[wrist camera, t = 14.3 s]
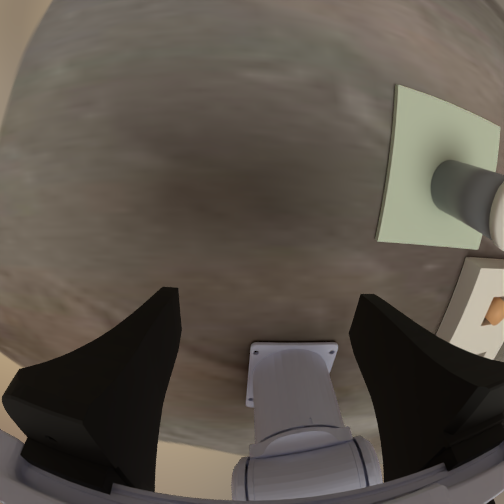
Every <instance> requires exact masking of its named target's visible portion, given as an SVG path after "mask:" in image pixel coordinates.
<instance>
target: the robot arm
mask: <svg viewBox="0 0 504 504" xmlns="http://www.w3.org/2000/svg"><path fill="white" fill-rule="evenodd" d="M181 331H182V327H181V317H180V305H179V293H178V288H172V287H162V288H161V289H160V290H159V291H157V292H156V293H155V294H154V295H153V296H152V297H151V298H150V299H148V300H147V301H146V302H145V303H144V304H143V305H142V306H141V307H139V308H138V309H137V310H136V311H135V312H134V313H132V314H131V315H130V316H128V317H127V318H126V319H125V320H123V321H122V322H121V323H119V324H118V325H117V326H115V327H114V328H113V329H111V330H110V331H108V332H107V333H105V334H104V335H102V336H100V337H99V338H97V339H95V340H94V341H92V342H90V343H88V344H86V345H84V346H82V347H80V348H78V349H76V350H74V351H72V352H70V353H68V354H65V355H63V356H61V357H58V358H55V359H53V360H50V361H47V362H44V363H40V364H37V365H33V366H30V367H26V368H22V369H19V370H18V372H17V373H16V375H15V377H14V378H13V380H12V381H11V383H10V385H9V386H8V388H7V390H6V391H5V393H4V395H3V396H2V403H3V406H4V408H5V410H6V411H7V413H8V414H9V416H10V417H11V418H12V419H13V421H14V422H15V423H16V424H17V426H18V427H19V428H20V429H21V430H22V431H23V433H24V434H25V435H26V436H27V437H28V438H27V440H26V442H25V444H24V443H23V442H21V441H20V440H19V439H17V438H15V437H13V436H12V435H10V434H8V433H6V432H4V431H2V430H1V429H0V502H1V503H3V504H486V503H488V502H489V501H491V500H492V499H493V498H495V497H496V496H498V495H499V494H500V493H502V492H503V491H504V427H503V425H502V424H501V422H503V421H504V416H503V414H502V411H503V410H504V362H500V361H495V360H491V359H488V358H485V357H482V356H479V355H476V354H473V353H471V352H468V351H466V350H464V349H461V348H459V347H457V346H455V345H453V344H450V343H449V342H447V341H445V340H443V339H441V338H439V337H437V336H436V335H434V334H432V333H431V332H429V331H428V330H426V329H425V328H423V327H421V326H420V325H418V324H417V323H415V322H414V321H412V320H411V319H410V318H408V317H407V316H405V315H404V314H403V313H401V312H400V311H398V310H397V309H396V308H394V307H393V306H391V305H390V304H389V303H387V302H386V301H384V300H383V299H381V298H380V297H378V296H376V295H375V294H361V295H360V298H359V302H358V305H357V308H356V312H355V315H354V318H353V322H352V325H351V328H350V331H349V336H350V340H351V345H352V349H353V352H354V355H355V358H356V360H357V363H358V365H359V368H360V371H361V373H362V375H363V378H364V380H365V383H366V385H367V388H368V391H369V393H370V396H371V399H372V402H373V406H374V410H375V414H376V418H377V423H378V428H379V434H380V440H381V447H382V456H383V467H384V468H383V469H384V483H383V482H382V474H381V469H380V464H379V461H378V457H377V454H376V452H375V449H374V447H373V445H372V444H371V442H370V441H368V440H366V439H364V438H363V437H362V436H356V437H353V438H352V434H351V431H350V427H344V423H343V420H342V416H341V413H340V409H339V406H338V402H337V399H336V395H335V392H334V388H333V385H332V382H331V378H330V375H329V374H330V371H331V368H332V365H333V362H334V359H335V356H336V353H337V350H338V345H337V343H336V342H313V343H273V342H254V343H252V344H251V347H250V359H249V370H248V382H247V393H246V406H247V407H254V428H255V444H251V445H249V448H250V457H242V458H241V459H240V460H239V462H238V464H236V466H235V467H234V469H233V473H232V484H231V486H232V500H213V499H201V498H190V497H182V496H175V495H168V494H162V493H155V492H154V491H155V467H156V454H157V444H158V435H159V427H160V420H161V413H162V407H163V402H164V398H165V394H166V390H167V387H168V384H169V380H170V377H171V373H172V370H173V367H174V363H175V360H176V357H177V353H178V349H179V343H180V337H181ZM332 350H333V351H332ZM254 351H258V352H254ZM330 351H331V352H330Z"/></svg>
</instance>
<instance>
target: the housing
mask: <svg viewBox="0 0 504 504" xmlns="http://www.w3.org/2000/svg"><path fill="white" fill-rule="evenodd" d="M493 297H500V298H501V299H502V300H503V301H504V259H492V258H478V257H466V258H465V261H464V265H463V268H462V271H461V274H460V276H459V279H458V282H457V285H456V288H455V290H454V293H453V295H452V298H451V301H450V303H449V306H448V308H447V310H446V313H445V315H444V317H443V320H442V322H441V324H440V326H439V329H438V331H437V333H436V336H437V337H439V338H441V339H443V340H445V341H447V342H449V343H450V344H453V345H455V346H457V347H459V348H461V349H464V350H466V351H468V352H471V353H473V354H476V355H479V356H482V357H485V358H488V359H491V360H493V359H494V358H495V356H496V354H497V352H498V351H499V349H500V347H501V345H502V344H503V342H504V318H503V320H502V321H501V322H500V323H499V324H497V325H495V326H493V325H492V324H491V323H490V322H489V321H488V320H487V319H486V318H485V316H486V313H487V311H488V309H489V307H490V304H491V302H492V300H493Z"/></svg>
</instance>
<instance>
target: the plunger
mask: <svg viewBox="0 0 504 504" xmlns="http://www.w3.org/2000/svg"><path fill="white" fill-rule="evenodd" d="M485 318H486V319H487V320H488V321H489V322H490V323H491V324H492V325H493V326H495V325H497V324H499V323H500V322H501V321H502V320H503V318H504V301H503V300H502V299H501V298H500V297H493V300H492V302H491V304H490V307H489V309H488V311H487V313H486V316H485Z"/></svg>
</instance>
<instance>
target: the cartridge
mask: <svg viewBox="0 0 504 504" xmlns="http://www.w3.org/2000/svg"><path fill="white" fill-rule="evenodd" d="M431 196H432V200H433V202H434V204H435V205H436V207H437V208H438V209H440V210H441V211H443V212H445V213H447V214H448V215H450V216H452V217H454V218H456V219H457V220H459V221H461V222H463V223H464V224H466V225H468V226H470V227H471V228H473V229H475V230H476V231H478V232H480V233H481V234H483V235H485V236H486V237H488V238H489V239H491V240H492V241H493V243H494V244H495V246H497V247H498V248H499V249H501V250H502V251H504V175H502V174H499V173H496V172H492V171H489V170H486V169H483V168H480V167H476V166H473V165H469V164H466V163H462V162H459V161H455V160H446V161H444V162H442V163H441V164H440V165H439V166H438V167H437V168H436V170H435V172H434V174H433V176H432V180H431Z"/></svg>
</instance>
